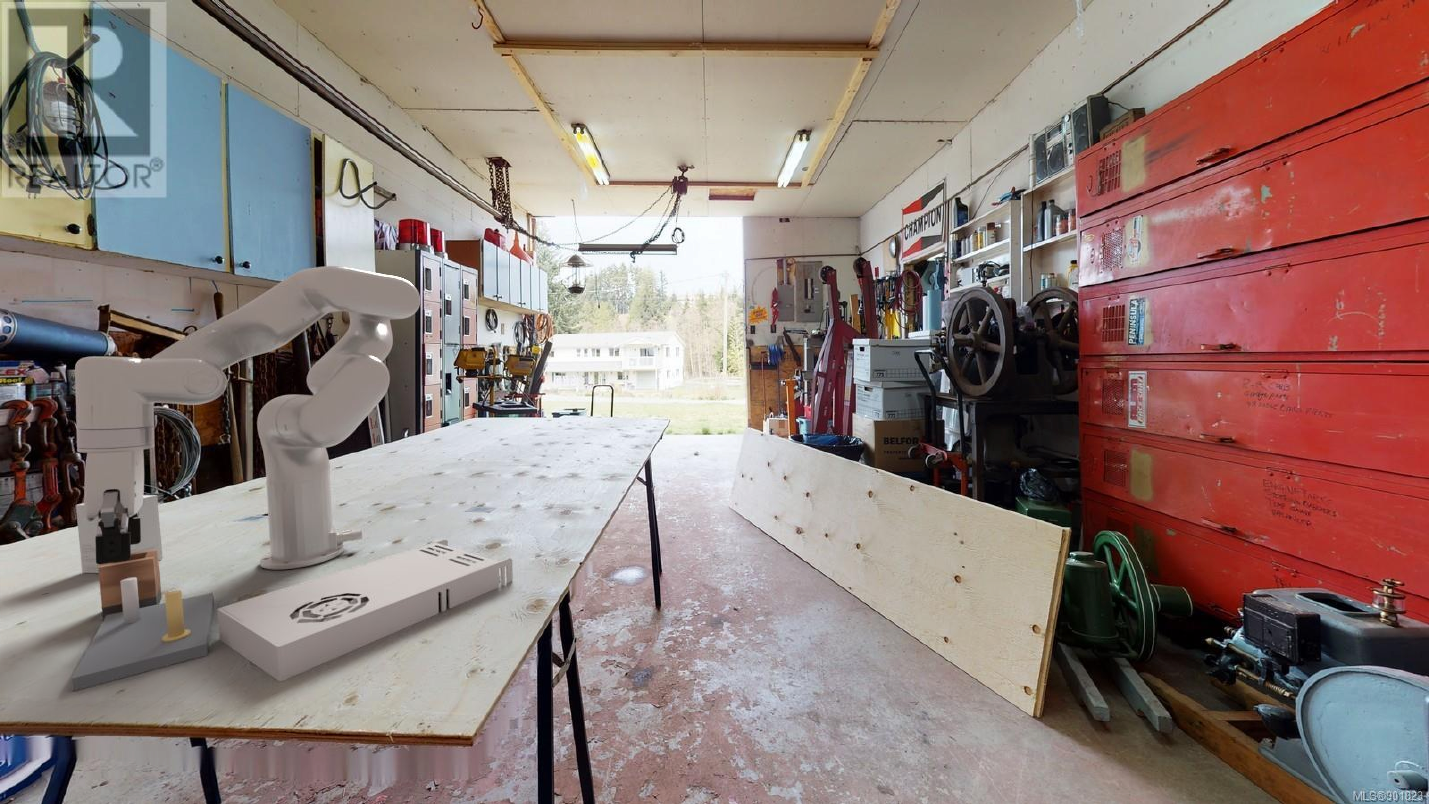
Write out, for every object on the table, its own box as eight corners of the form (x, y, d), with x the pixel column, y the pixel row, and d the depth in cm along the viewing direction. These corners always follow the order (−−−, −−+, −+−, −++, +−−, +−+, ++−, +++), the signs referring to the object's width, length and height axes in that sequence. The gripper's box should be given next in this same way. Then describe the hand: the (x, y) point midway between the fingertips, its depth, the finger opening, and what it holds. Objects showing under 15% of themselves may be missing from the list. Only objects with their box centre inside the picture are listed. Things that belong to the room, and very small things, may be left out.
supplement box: (164, 559, 98) (159, 494, 98) (116, 575, 91) (110, 505, 90) (130, 557, 99) (125, 493, 98) (79, 573, 92) (73, 504, 91)
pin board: (214, 601, 81) (210, 555, 80) (207, 654, 66) (203, 598, 66) (107, 625, 74) (102, 574, 73) (72, 691, 59) (66, 628, 58)
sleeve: (161, 597, 82) (157, 548, 82) (157, 609, 78) (153, 558, 78) (110, 608, 79) (105, 557, 78) (103, 621, 75) (98, 567, 74)
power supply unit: (513, 585, 89) (512, 557, 89) (280, 687, 61) (277, 647, 60) (447, 563, 99) (446, 538, 98) (219, 644, 70) (216, 608, 70)
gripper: (90, 435, 80) (93, 544, 81) (61, 447, 68) (65, 575, 68) (161, 433, 85) (163, 535, 86) (146, 444, 73) (148, 563, 73)
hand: (119, 553), depth 77 cm, fingers open, 9 cm apart
